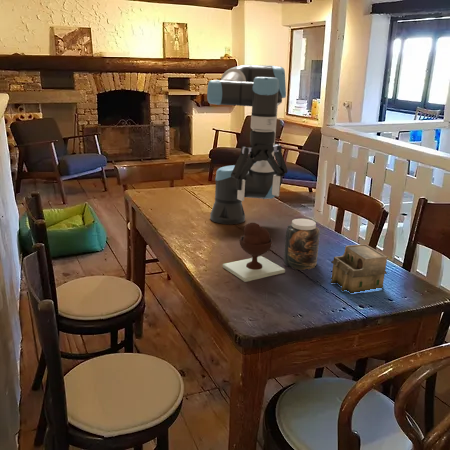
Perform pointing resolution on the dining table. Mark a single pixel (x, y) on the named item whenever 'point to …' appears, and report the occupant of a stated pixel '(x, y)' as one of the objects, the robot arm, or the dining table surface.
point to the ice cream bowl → (255, 243)
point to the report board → (249, 274)
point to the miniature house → (359, 268)
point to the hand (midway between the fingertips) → (258, 197)
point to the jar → (301, 244)
